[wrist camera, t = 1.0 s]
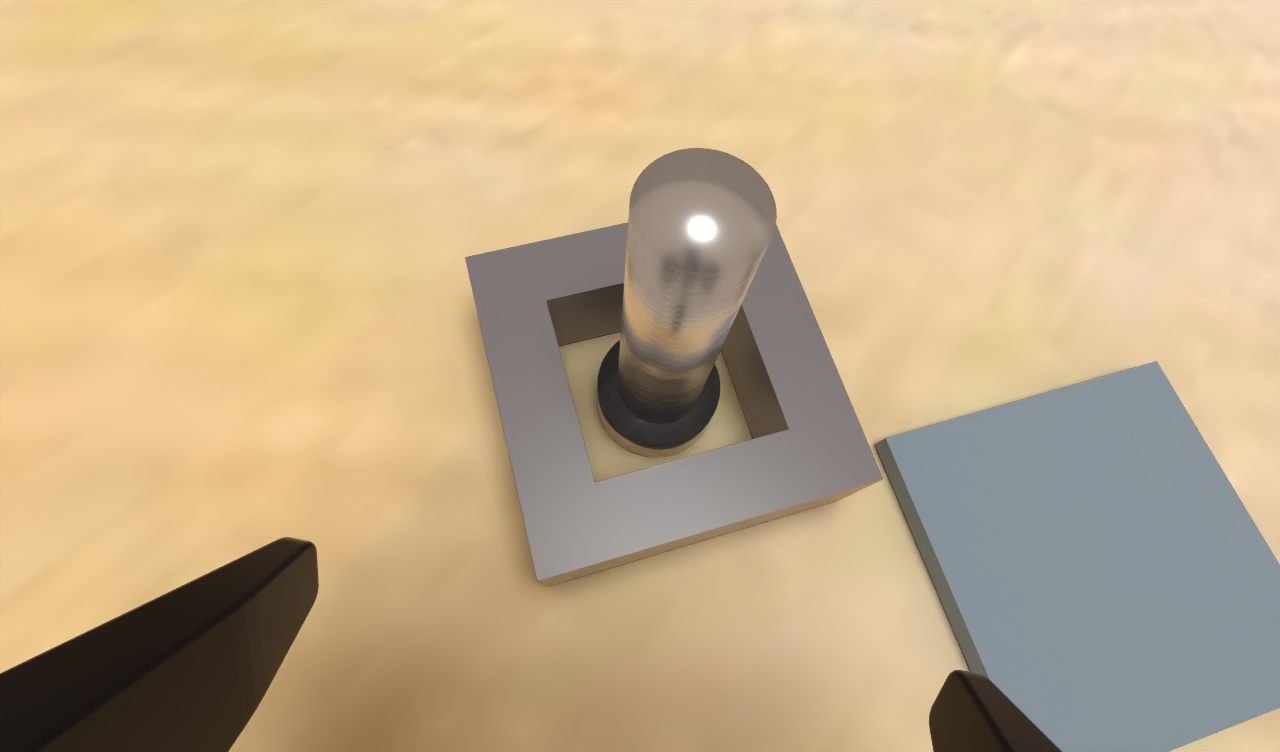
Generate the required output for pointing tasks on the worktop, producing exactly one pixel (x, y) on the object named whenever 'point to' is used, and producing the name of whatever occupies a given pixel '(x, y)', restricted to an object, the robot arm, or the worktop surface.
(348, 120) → the worktop surface
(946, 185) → the worktop surface
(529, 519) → the socket block
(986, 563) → the mat
